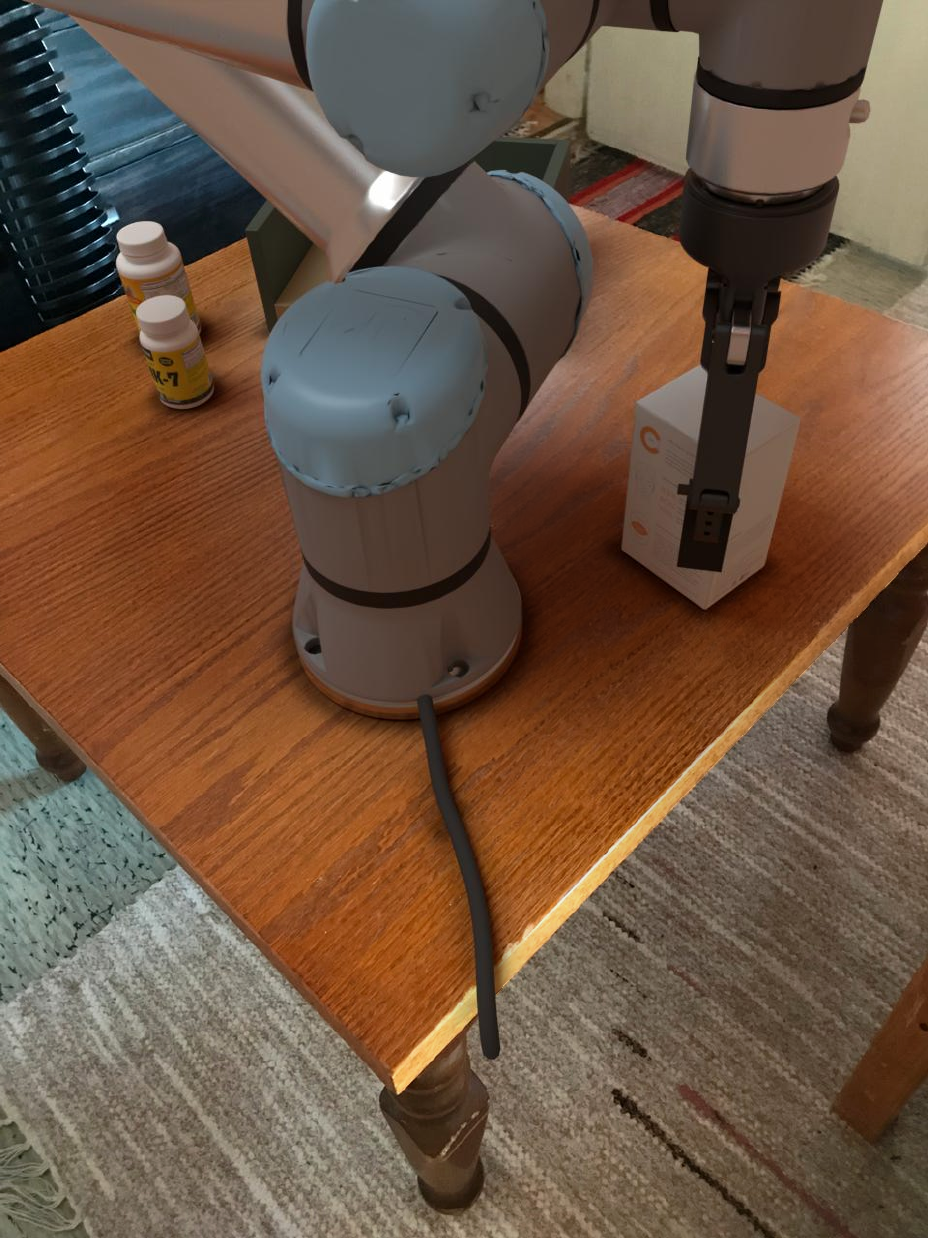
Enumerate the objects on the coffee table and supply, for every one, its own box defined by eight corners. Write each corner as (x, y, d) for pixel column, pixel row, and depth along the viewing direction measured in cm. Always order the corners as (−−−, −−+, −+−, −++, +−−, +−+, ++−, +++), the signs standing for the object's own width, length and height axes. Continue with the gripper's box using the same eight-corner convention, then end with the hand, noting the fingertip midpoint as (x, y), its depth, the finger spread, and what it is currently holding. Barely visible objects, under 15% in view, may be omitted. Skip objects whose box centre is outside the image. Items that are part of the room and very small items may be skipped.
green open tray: (530, 357, 86) (530, 250, 79) (268, 332, 91) (244, 229, 83) (567, 241, 99) (570, 139, 91) (335, 224, 103) (320, 126, 96)
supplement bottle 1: (141, 325, 92) (105, 221, 85) (200, 314, 93) (170, 210, 85) (144, 358, 89) (107, 253, 81) (205, 347, 90) (174, 241, 82)
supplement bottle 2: (148, 400, 85) (117, 314, 78) (185, 371, 87) (158, 285, 81) (190, 417, 83) (161, 330, 77) (226, 387, 86) (202, 300, 79)
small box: (765, 567, 69) (806, 417, 59) (704, 613, 66) (735, 464, 56) (679, 508, 73) (702, 358, 63) (617, 549, 70) (632, 400, 61)
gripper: (846, 314, 40) (758, 644, 56) (839, 70, 56) (772, 383, 72) (659, 301, 41) (626, 626, 57) (704, 67, 57) (668, 374, 73)
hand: (707, 492), depth 65 cm, fingers open, 13 cm apart
